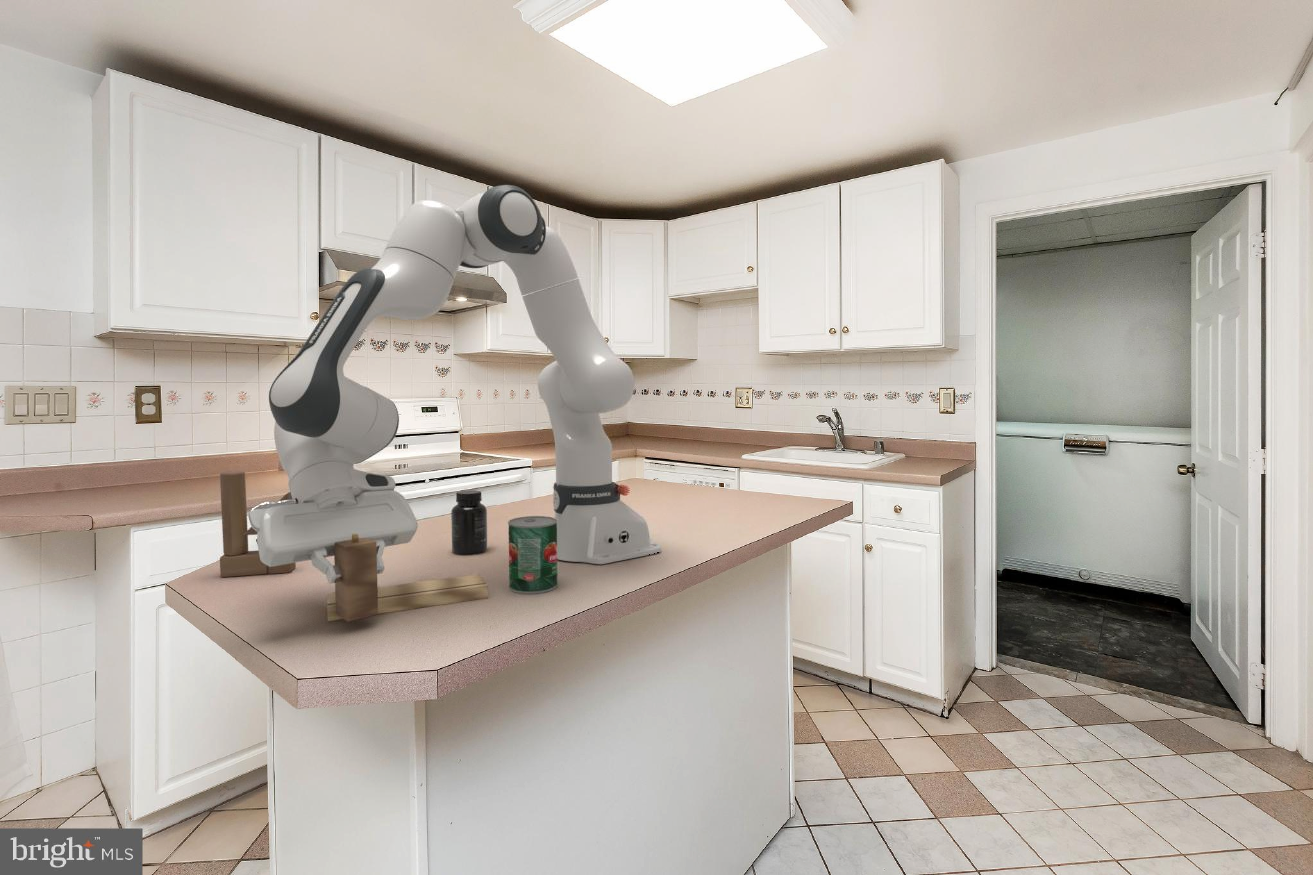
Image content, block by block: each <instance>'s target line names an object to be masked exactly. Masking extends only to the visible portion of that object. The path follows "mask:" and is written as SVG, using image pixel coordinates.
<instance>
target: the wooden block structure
mask: <svg viewBox="0 0 1313 875" xmlns="http://www.w3.org/2000/svg"><path fill="white" fill-rule="evenodd" d="M219 483H220V484H219V485H220V504H221V505H220V506H221V507H220V508H221V524H222V525H221V531H222V545H223V546H222V547H223V548H222V549H223V550H222V551H223V553H222V554H223V555H221V556H220V558H219V571H220V577H221V578H229V577H245V576H255V575H256V576H259V575H268V574H269V575H274V574H275V575H277V574H279V575H280V574H290V573H291V572H292V571H293V570H294V569H296V567H297V562H296V563H290V564H285V565H279V566H273V567H269V566H267V565H266V564H264V563H262V562H261V560H260V556H259V550H249V536H254V535H255V536H257V531H255V530H254V529H253V528H252V526H251V527H250V528H248V512H247V507H248V506H247V488H246V487H247V486H246V485H247V484H246V473H245V471H243V470H231V471H230V470H229V471H222V472H221V473H220V474H219ZM290 499H293V498H292V495H291V493H290V491H289V492H287V493H286V494H284V495H283V496H282V497H281V498H280V499H279V500H278V501H282V500H290Z"/></svg>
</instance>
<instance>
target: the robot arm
mask: <svg viewBox="0 0 1313 875" xmlns="http://www.w3.org/2000/svg"><path fill="white" fill-rule="evenodd" d="M501 262H503V263H504V264H506V265H507V266H508V267H509V268H510V270H511V271H512V272H513V274H514V276H515V278H516V282H517V285H518V288H519V291H520V294H521V298H522V300H523V303H524V306H525V308H526V311H527V314H528V317H529V320H530V322H531V326H532V327H533V330H534V333H535V335H536V338H538V340H539V341H540V342H541V343H543V344H544V346H545V347H546V348H547V349H548V350H549V352H550V353H551V354H552V356H553V358H554V361H553V362H551V363H550V364H547V365H546V366H545V367H544V368H543V369H542V371H540V374H539V375H538V379H537V390H538V393H539V395H540V398H541V400H543V402H544V404H545V406H546V409H547V413H548V417H549V421H550V424H551V428H552V434H553V440H554V448H555V482H554V484H553V493H552V503H553V510H554V518H555V519H557V560H559V561H565V562H572V563H573V562H574V563H575V562H577V563H587V564H593V565H604V564H609V563H610V564H611V563H615V562H619V561H624V560H625V561H626V560H629V559H634V558H639V557H645V556H650V555H655V554H658V553H657V552H659V553H661V550H662V548H661V544H659V543H658V542H657V541H656V540H654V539H652V538H651V537H650V531H649V526H648V523H647V521H646V519H645V518H644V517H643V516H642V515H640V514H639V513H638V512H637V511H635V510H634V509H633V508H632V507H630V506H629V505H627V504H626V503H625V502H624V501H623V500H621V495H622V496H625V497H626V496H628V495H629V494H630V491H631V489H630V487H629V486H628V485H625V484H618V483H616V482H614V481H613V445H612V441H611V440H610V438H609V436H608V435H607V434H606V432H605V430H604V427H603V424H602V420H601V417H600V414H607V413H610V412H613V411H616V410H618V409H621V408H623V407H624V406H626V405H627V404H628V403H629V401H630V400H631V399H632V396H633V394H634V391H635V377H634V375H633V371H632V369H631V368H630V367H629V365H628V364H627V363H626V362H625V361H623V360H622V359H621V358H619V356H617V354H616V353H615V352H614V351H613V350H612V348H611V347H610V346H609V344H608V343H607V342H608V341H606V339H605V338H604V336H603V335H602V333H601V331H600V330H599V327H598V326H597V324H596V322H595V320H594V318H593V317H592V316H593V315H592V314H591V310H590V309H589V308H590V307H589V306H588V302H587V300H586V297H585V293H584V290H583V288H582V284H581V282H580V279H579V276H578V273H577V269H576V268H575V265H574V263H573V260H572V258H571V256H570V254H569V251H568V249H567V247H566V245H565V243H564V242H563V240H562V238H561V236H560V235H559V233H558V232H557V231H556V229H553V228H552V227H550V226H547V225H546V221H545V218H544V217H543V215H542V213H541V211H540V208H539V206H538V205H537V203H536V201H535V200H534V198H532V197H531V195H530V194H529V193H528V192H526V191H525V189H523V188H521V187H519V186H517V185H514V184H513V185H512V184H502V185H501V184H500V185H497V186H493V187H490V188H489V189H487V190H485V191H483V192H480V193H479V194H476V195H475V196H473V197H470V198H469V199H468V200H466V201H465V202H464V203H463V204H462V205H461V206H459V207H457V208H456V209H452V208H451V207H450V206H448V205H446V203H445V204H444V203H443V202H440V201H437V200H432V199H422V200H418V201H416V202H414V203H412V204H411V205H410V207H409V208H408V209H407V211H406V212H405V213H403V216H402V217H401V218H400V220H399V221H398V223H397V225H396V227H395V228H394V230H393V231H392V234H391V235H390V238H389V240H388V242H387V244H386V246H385V248H384V251H383V252H382V254H381V256H380V258H379V260H378V261H377V262H376V263H375V264H374V265H373V266H372V267H371V268H363V269H360V270H358V271H356V272H355V273H353V275H352V276H350V278H348V279H347V281H346V282H345V284H344V285H343V286H342V287H341V288H340V290H339V291H338V293H337V295H336V296H335V297H334V298H333V300H332V302H331V303H330V304H329V306H328V308H326V311H325V312H324V313H323V315H322V317H321V319H320V320H319V321H318V323H317V324H316V326H315V327H314V328H313V330H312V331H311V333H310V334H309V336H308V337H307V339H306V341H305V342H304V344H303V345H302V347H301V348H300V350H299V351H298V352H297V354H296V355H295V356H294V357H293V359H292V360H291V361H290V362H289V363H288V364H287V365H286V366H285V367H284V368H283V369H282V370H281V371H280V372H279V374H278V375H277V376H276V377H275V379H274V380H273V382H272V384H271V385H270V388H269V391H268V402H269V403H268V404H269V408H270V412H271V413H272V414H271V415H272V416H273V419H274V420H275V421H274V429H273V432H274V433H273V434H274V435H273V436H274V443H275V444H274V445H275V448H276V451H277V455H278V460H279V462H280V466H281V468H282V470H283V471H284V472H285V473H286V475H287V476H288V484H287V485H288V489H289V492H290V493H291V495H292V498H293V499H290V500H282V501H279V500H278V501H272V502H271V501H264V502H260V503H258V505H256V506H254V507H252V509H250V510H249V512H248V514H247V518H248V520H249V524H250V526H251V527H252V528H253V529H254V530H255V531H257V535H256V536H257V537H256V539H257V549H258V550H259V556H260V560H261V562H262V563H264V564H266V565H267V566H269V567H273V566H279V565H285V564H290V563H296V564H297V563H300V562H305V561H311V566H313V567H314V568H315V569H316V570H318V571H319V572H321V573H322V574H323V575H325V577H326V580H327V582H328V583H327V584H329V585H331V584H335V583H336V582H341V581H342V578H343V576H344V575H343V571H341V569H342V568H341V565H335V564H333V563H331V561H330V560H328V559H327V558H328V557H334V546H335V542H341V541H347V540H352V534H358V539H359V538H368V539H370V540H373V541H375V542H376V544H377V575H380V574H383V572H384V570H385V563H384V560H383V554H384V552H385V551H384V550H385V548H386V547H387V548H388V547H391V546H396V545H397V546H398V545H403V544H408V543H410V542H411V541H412V539H413V537H414V536H415V535H416V532H417V530H418V528H419V524H418V521H417V518H416V516H415V514H414V511H413V510H412V508H411V506H410V504H409V503H408V501H407V499H406V497H405V496H404V495H403V494H401V493H400V492H398V491H396V490H395V489H396V481H395V479H394V478H393V477H392V476H390V475H385V474H377V473H373V472H367V471H363V470H359V469H356V468H355V467H354V465H357V464H361V463H362V462H364V461H366V460H368V459H370V458H372V457H373V456H375V455H377V454H378V453H380V452H382V450H384V449H385V448H388V446H389V445H390V444H391V443H392V442H393V441H394V439H395V438H396V436H397V432H398V430H399V424H400V416H399V411H398V408H397V406H396V404H395V403H394V401H392V400H391V399H389V398H387V397H385V395H382V394H381V393H379V392H376V391H374V390H373V389H371V388H369V387H367V386H364V385H362V384H360V383H358V382H356V381H354V380H353V379H350V378H348V377H346V376H345V373H344V366H345V364H346V362H347V361H348V359H349V357H350V355H351V354H352V352H353V351H354V349H355V347H356V346H357V344H358V343H359V341H360V339H361V338H362V336H363V334H364V332H365V331H366V330H367V328H368V326H369V325H370V324H371V323H372V322H373V321H375V320H376V319H379V318H381V317H386V318H392V319H398V320H399V319H400V320H405V321H418V320H424V319H428V318H430V317H432V316H434V315H436V314H437V313H438V312H440V310H442V308H443V307H444V305H445V303H446V302H447V300H448V299H449V295H450V293H451V291H452V287H453V284H454V282H455V280H456V279H455V278H456V277H457V273H458V270H459V268H460V266H461V267H463V268H467V269H482V268H483V269H484V268H485V267H487V266H489V265H490V266H491V265H495V264H498V263H501ZM654 553H655V554H654ZM649 554H650V555H649Z"/></svg>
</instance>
